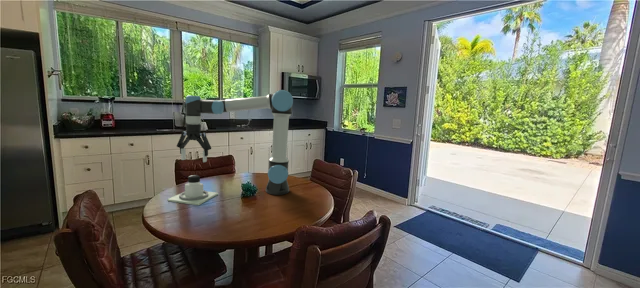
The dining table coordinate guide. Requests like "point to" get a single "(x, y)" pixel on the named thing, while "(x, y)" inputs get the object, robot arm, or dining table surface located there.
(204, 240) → the dining table surface
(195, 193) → the medicine bottle
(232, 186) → the dining table surface
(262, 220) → the dining table surface
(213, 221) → the dining table surface
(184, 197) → the socket board
